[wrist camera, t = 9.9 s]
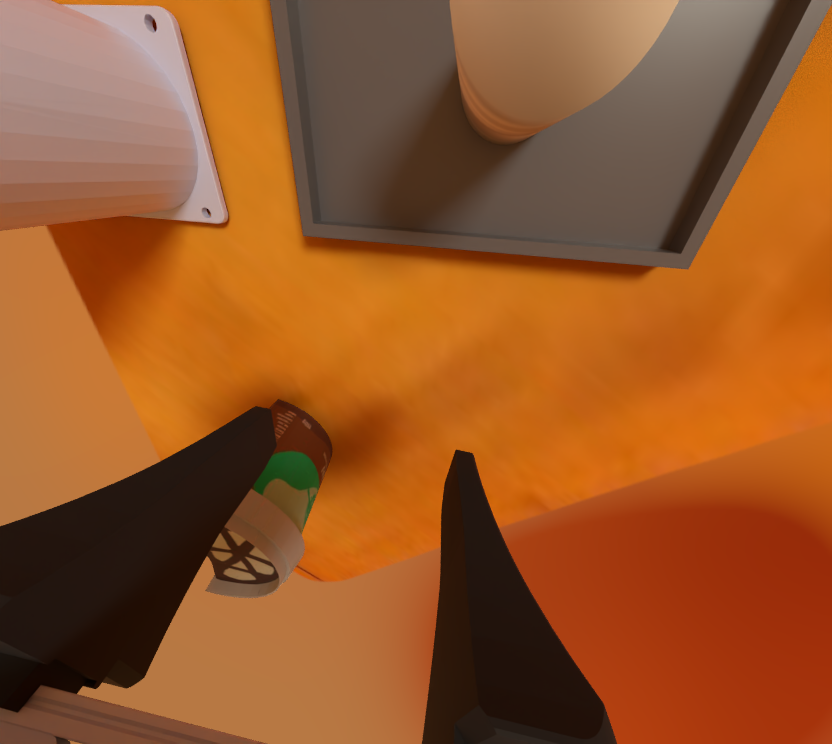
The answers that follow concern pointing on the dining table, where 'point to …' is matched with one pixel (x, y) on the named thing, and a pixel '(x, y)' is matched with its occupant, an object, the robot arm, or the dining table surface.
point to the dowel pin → (546, 57)
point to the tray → (537, 155)
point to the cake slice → (273, 510)
